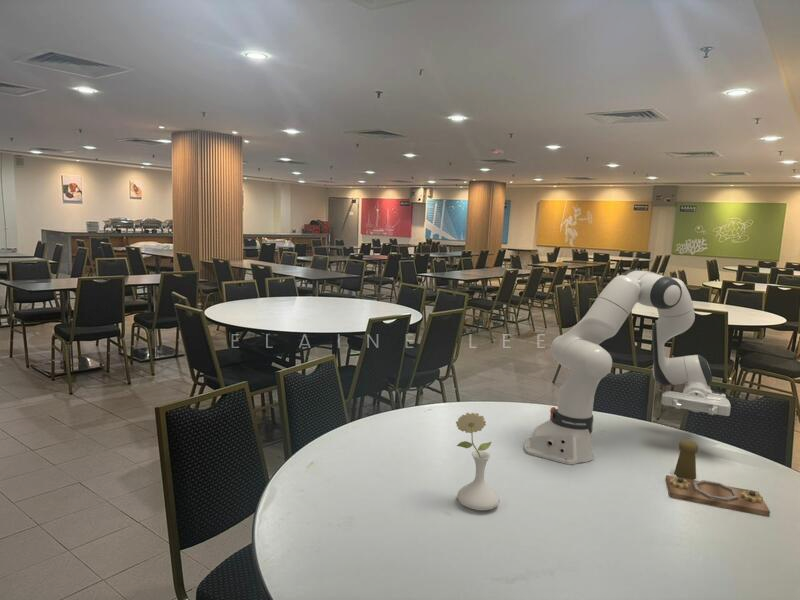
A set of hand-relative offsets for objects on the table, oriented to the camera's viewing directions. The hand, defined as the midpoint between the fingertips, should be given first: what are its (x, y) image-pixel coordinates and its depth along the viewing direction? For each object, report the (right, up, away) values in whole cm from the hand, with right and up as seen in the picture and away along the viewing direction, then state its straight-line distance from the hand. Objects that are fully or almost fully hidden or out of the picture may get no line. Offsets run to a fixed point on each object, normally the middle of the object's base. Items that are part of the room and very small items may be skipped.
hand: (694, 409), depth 175 cm
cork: (-7, -19, -8) cm, 22 cm away
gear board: (-6, -21, -21) cm, 30 cm away
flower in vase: (-76, -19, -30) cm, 84 cm away
